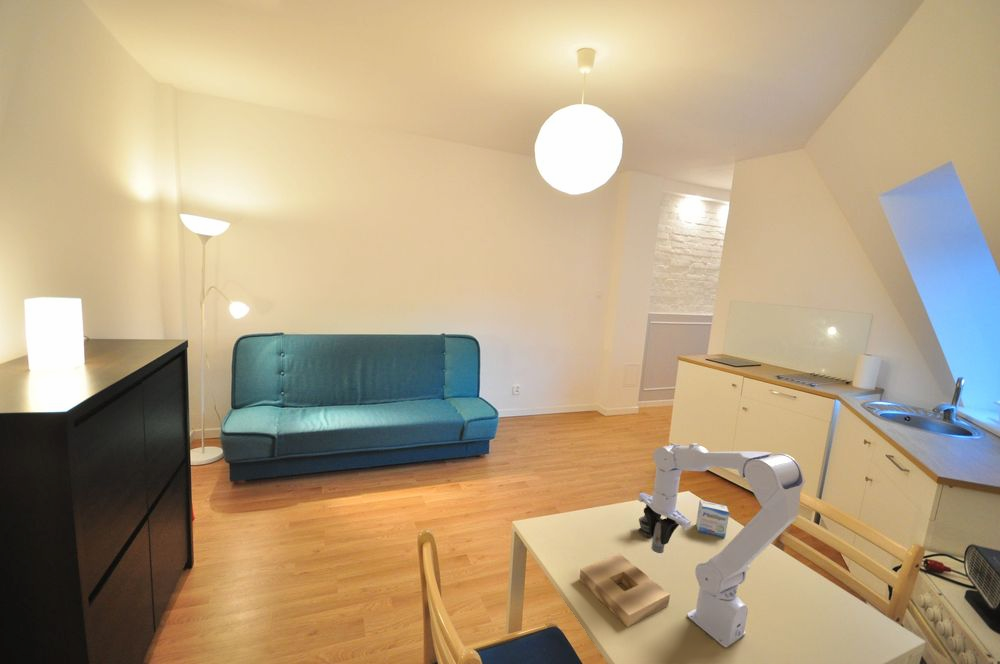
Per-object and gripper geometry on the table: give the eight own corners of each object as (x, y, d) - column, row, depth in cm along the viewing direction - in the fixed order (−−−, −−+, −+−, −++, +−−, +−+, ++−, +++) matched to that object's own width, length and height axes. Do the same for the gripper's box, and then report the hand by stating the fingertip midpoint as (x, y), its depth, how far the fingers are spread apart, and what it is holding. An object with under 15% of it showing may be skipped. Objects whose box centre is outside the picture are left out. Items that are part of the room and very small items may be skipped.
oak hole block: (668, 605, 99) (670, 594, 99) (627, 627, 92) (629, 615, 92) (618, 563, 113) (619, 553, 112) (579, 579, 106) (580, 568, 105)
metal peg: (665, 551, 108) (670, 523, 107) (658, 554, 107) (662, 526, 106) (656, 544, 111) (660, 516, 110) (648, 547, 109) (652, 519, 108)
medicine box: (697, 531, 130) (701, 506, 129) (695, 524, 134) (699, 499, 133) (725, 538, 128) (729, 512, 127) (722, 530, 132) (726, 504, 131)
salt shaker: (654, 528, 130) (659, 492, 129) (659, 540, 124) (664, 503, 123) (635, 525, 131) (640, 490, 129) (639, 537, 125) (644, 500, 123)
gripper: (701, 501, 103) (693, 551, 104) (652, 475, 115) (646, 520, 117) (683, 508, 99) (675, 559, 101) (635, 480, 111) (629, 526, 113)
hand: (658, 539), depth 109 cm, fingers closed on metal peg, 3 cm apart
